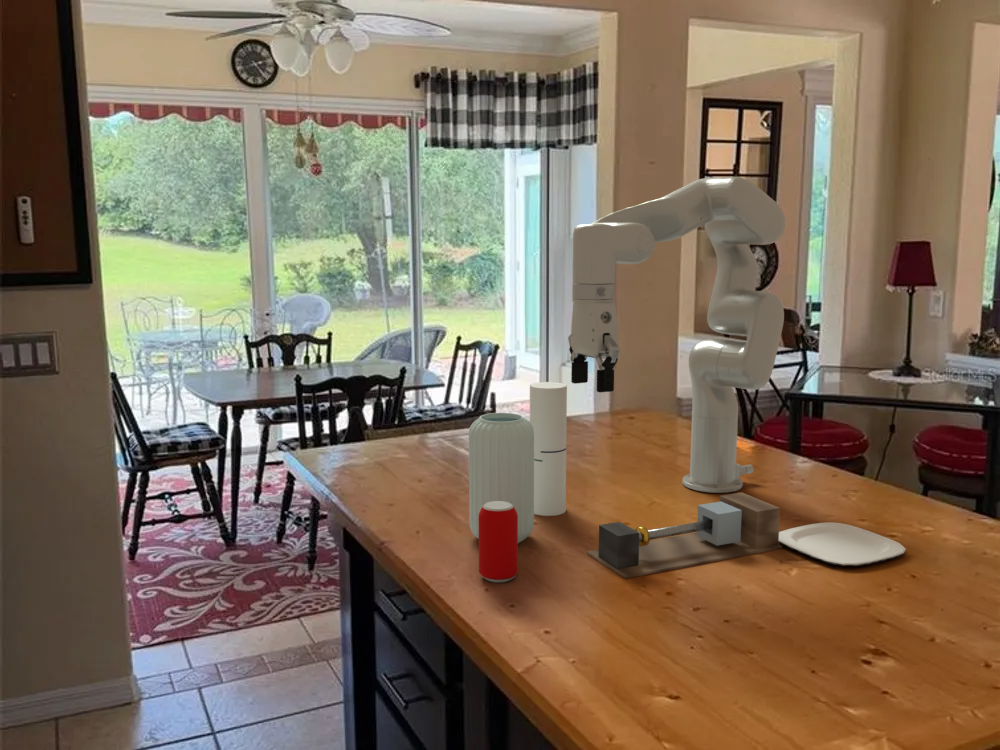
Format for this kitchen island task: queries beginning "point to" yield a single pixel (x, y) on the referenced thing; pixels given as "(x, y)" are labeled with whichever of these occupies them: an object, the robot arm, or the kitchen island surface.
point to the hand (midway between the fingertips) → (592, 387)
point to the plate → (840, 544)
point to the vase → (502, 467)
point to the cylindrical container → (549, 446)
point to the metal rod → (671, 531)
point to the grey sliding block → (720, 523)
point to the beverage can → (498, 541)
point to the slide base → (688, 542)
